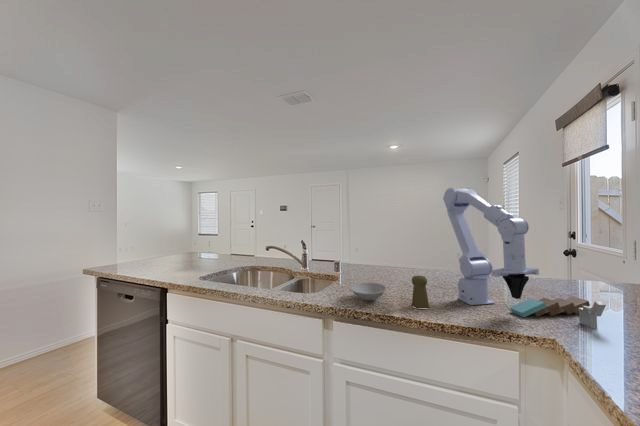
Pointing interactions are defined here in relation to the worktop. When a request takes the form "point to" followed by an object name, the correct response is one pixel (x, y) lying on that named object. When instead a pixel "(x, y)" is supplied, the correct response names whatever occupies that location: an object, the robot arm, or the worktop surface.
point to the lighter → (591, 314)
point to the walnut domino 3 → (576, 304)
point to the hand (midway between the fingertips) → (516, 297)
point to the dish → (368, 290)
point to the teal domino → (527, 307)
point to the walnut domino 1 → (549, 306)
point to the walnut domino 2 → (561, 306)
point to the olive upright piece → (419, 292)
